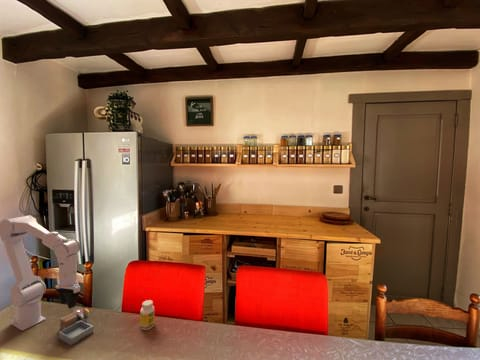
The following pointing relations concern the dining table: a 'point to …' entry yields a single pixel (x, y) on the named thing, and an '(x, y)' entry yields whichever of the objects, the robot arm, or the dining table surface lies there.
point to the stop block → (67, 321)
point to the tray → (75, 332)
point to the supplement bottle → (147, 315)
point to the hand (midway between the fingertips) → (68, 305)
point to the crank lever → (81, 313)
